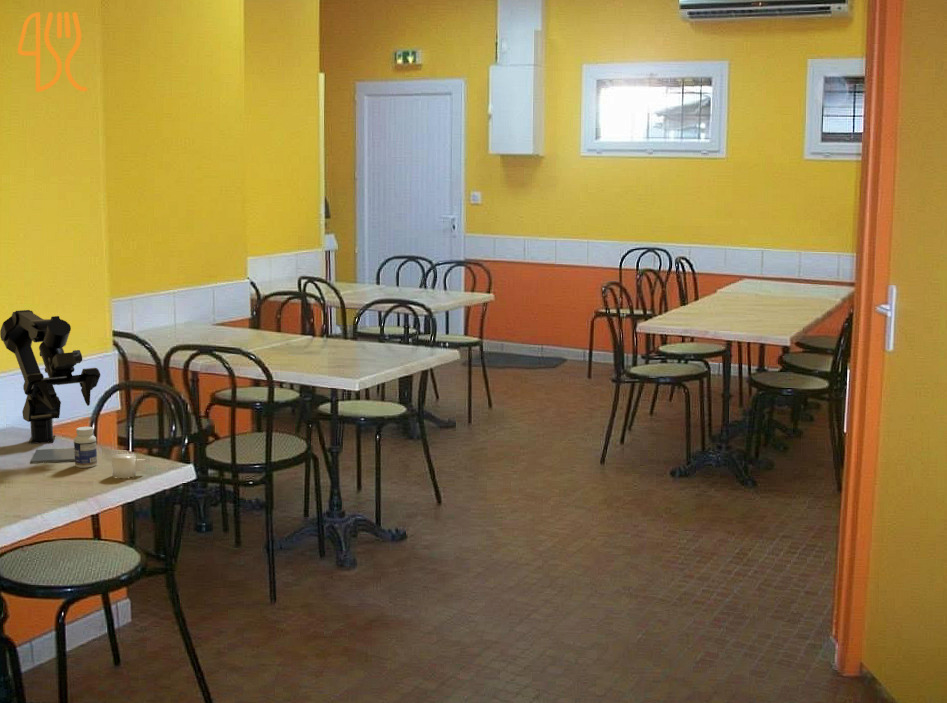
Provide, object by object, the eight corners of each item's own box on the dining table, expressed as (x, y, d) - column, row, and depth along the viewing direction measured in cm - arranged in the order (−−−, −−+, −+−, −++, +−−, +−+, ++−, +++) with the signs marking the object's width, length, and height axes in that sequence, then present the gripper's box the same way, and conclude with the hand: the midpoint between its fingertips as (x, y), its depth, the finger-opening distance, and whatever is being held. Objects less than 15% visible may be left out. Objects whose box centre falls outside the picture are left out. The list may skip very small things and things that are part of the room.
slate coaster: (36, 451, 313) (36, 449, 313) (83, 449, 316) (83, 447, 316) (30, 463, 302) (30, 461, 302) (79, 460, 305) (79, 458, 305)
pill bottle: (74, 464, 302) (72, 426, 300) (96, 462, 304) (94, 425, 302) (76, 469, 297) (74, 431, 295) (98, 467, 299) (96, 429, 297)
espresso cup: (113, 473, 293) (112, 454, 292) (145, 472, 295) (145, 452, 294) (111, 479, 288) (111, 459, 287) (144, 477, 290) (144, 458, 289)
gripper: (24, 343, 300) (40, 392, 293) (96, 337, 312) (113, 384, 305) (16, 370, 308) (32, 418, 301) (87, 363, 319) (103, 409, 312)
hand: (71, 407), depth 304 cm, fingers open, 9 cm apart
